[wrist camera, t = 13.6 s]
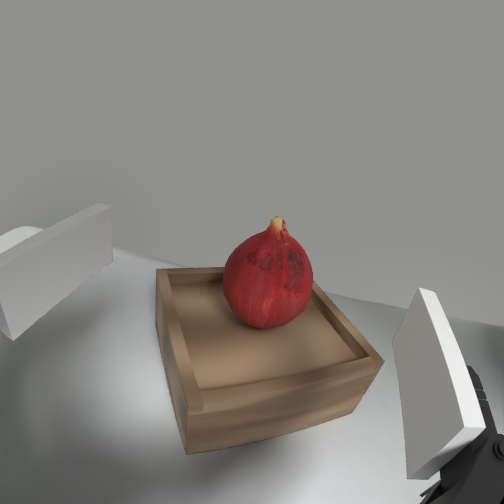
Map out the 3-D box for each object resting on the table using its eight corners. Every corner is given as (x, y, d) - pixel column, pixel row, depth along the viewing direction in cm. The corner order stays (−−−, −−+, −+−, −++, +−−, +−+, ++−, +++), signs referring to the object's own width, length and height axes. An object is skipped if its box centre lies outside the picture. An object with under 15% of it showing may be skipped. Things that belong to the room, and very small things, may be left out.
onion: (314, 343, 21) (347, 237, 18) (237, 362, 19) (259, 241, 15) (274, 298, 26) (294, 204, 22) (206, 307, 23) (217, 203, 20)
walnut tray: (351, 412, 22) (384, 361, 19) (186, 454, 17) (188, 405, 14) (284, 315, 32) (299, 264, 30) (155, 325, 27) (156, 268, 25)
